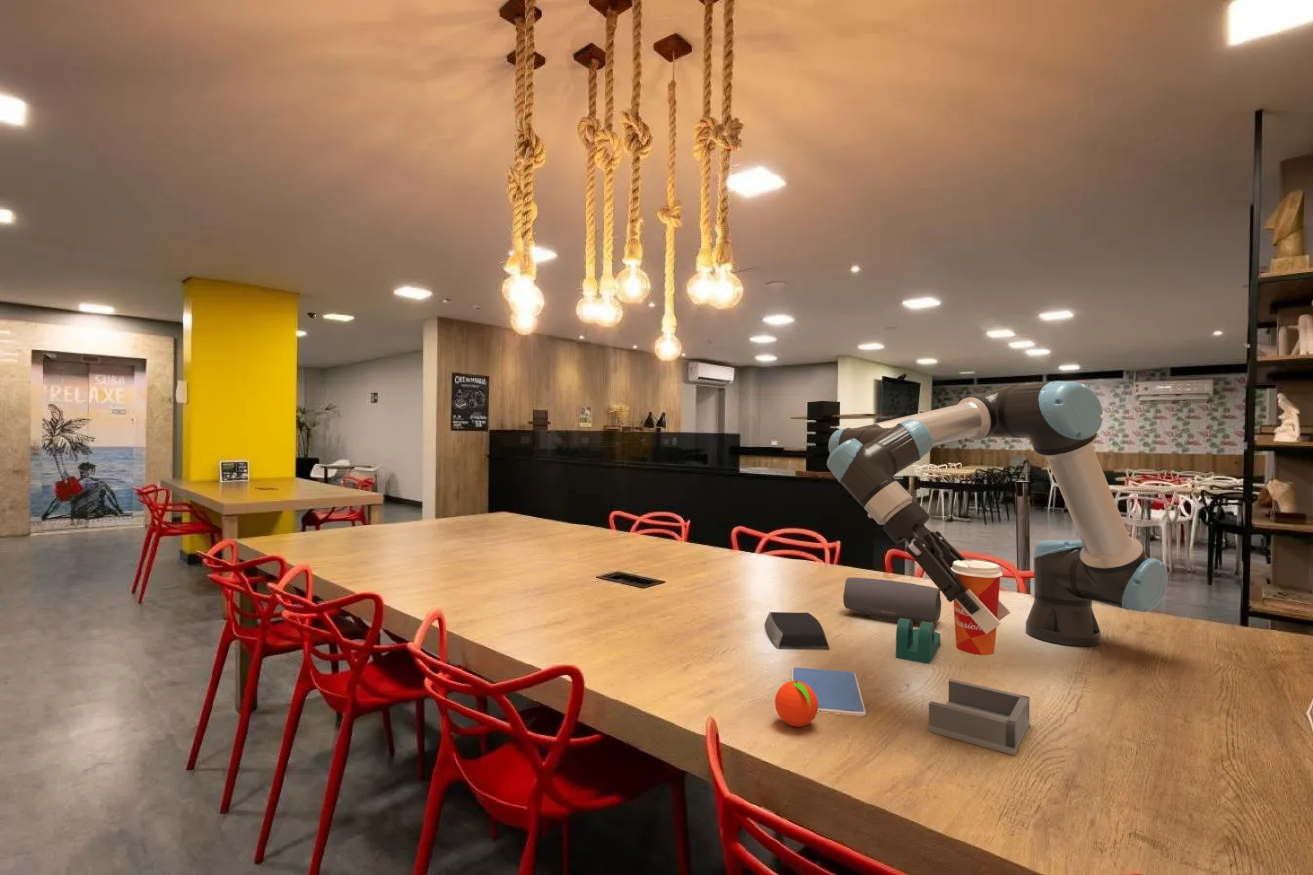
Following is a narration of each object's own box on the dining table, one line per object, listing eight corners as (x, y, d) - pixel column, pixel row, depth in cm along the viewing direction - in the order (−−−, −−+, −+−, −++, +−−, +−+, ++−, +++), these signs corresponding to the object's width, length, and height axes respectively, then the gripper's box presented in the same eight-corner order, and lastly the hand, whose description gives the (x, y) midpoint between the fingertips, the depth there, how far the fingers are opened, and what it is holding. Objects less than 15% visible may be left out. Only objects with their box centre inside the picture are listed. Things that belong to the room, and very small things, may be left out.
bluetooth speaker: (941, 622, 163) (941, 583, 163) (935, 631, 155) (935, 590, 155) (852, 608, 175) (852, 572, 175) (842, 616, 168) (842, 578, 168)
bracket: (929, 665, 133) (930, 627, 133) (895, 658, 136) (896, 622, 136) (942, 641, 148) (942, 607, 148) (911, 636, 152) (911, 603, 152)
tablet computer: (867, 720, 107) (867, 712, 107) (790, 713, 110) (790, 705, 110) (855, 678, 126) (855, 671, 126) (790, 672, 129) (791, 666, 129)
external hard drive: (773, 651, 141) (773, 632, 141) (761, 625, 161) (762, 609, 161) (832, 652, 141) (832, 633, 141) (813, 626, 160) (814, 610, 160)
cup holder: (1029, 723, 105) (1029, 696, 105) (1014, 755, 95) (1014, 725, 95) (950, 704, 113) (950, 678, 113) (928, 731, 102) (928, 703, 102)
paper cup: (940, 641, 108) (941, 559, 107) (983, 641, 108) (984, 558, 108) (966, 658, 100) (967, 569, 100) (1012, 657, 100) (1013, 568, 100)
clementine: (829, 734, 101) (830, 689, 101) (790, 739, 99) (791, 694, 99) (804, 713, 109) (804, 671, 109) (767, 717, 107) (767, 675, 107)
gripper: (900, 521, 121) (993, 621, 111) (861, 533, 105) (965, 652, 95) (930, 495, 118) (1028, 596, 108) (893, 504, 102) (1005, 623, 92)
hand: (999, 622), depth 102 cm, fingers closed on paper cup, 8 cm apart
